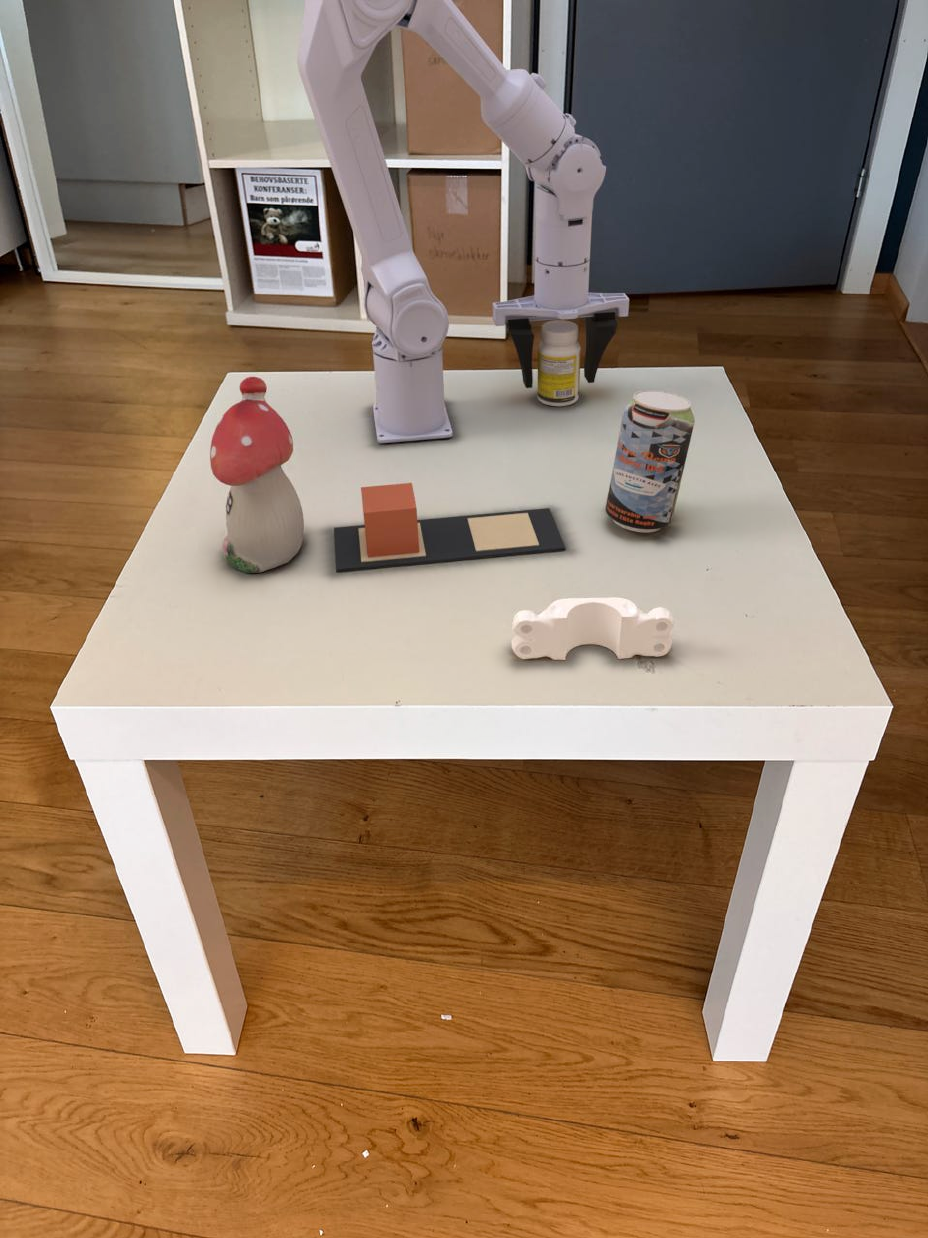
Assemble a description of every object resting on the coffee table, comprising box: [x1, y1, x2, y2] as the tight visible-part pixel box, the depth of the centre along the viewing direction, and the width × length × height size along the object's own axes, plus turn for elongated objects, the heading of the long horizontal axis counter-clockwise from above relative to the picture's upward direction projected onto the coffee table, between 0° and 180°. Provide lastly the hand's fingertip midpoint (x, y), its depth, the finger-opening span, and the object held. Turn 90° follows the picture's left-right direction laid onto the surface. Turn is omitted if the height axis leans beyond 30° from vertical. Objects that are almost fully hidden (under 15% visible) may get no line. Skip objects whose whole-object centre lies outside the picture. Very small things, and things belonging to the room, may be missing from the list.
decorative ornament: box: [209, 376, 305, 574], centre depth 82 cm, size 9×7×15 cm
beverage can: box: [605, 389, 696, 533], centre depth 86 cm, size 6×7×12 cm
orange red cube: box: [360, 482, 419, 557], centre depth 86 cm, size 4×4×4 cm
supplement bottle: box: [537, 319, 582, 407], centre depth 109 cm, size 5×5×8 cm
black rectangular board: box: [333, 507, 566, 573], centre depth 87 cm, size 7×20×1 cm, turn 98°
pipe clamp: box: [510, 596, 675, 661], centre depth 73 cm, size 12×2×4 cm, turn 90°
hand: (558, 381), depth 110 cm, fingers open, 6 cm apart
